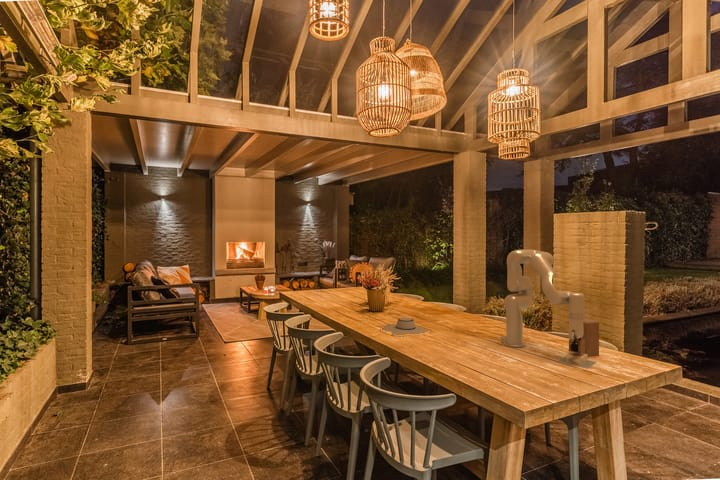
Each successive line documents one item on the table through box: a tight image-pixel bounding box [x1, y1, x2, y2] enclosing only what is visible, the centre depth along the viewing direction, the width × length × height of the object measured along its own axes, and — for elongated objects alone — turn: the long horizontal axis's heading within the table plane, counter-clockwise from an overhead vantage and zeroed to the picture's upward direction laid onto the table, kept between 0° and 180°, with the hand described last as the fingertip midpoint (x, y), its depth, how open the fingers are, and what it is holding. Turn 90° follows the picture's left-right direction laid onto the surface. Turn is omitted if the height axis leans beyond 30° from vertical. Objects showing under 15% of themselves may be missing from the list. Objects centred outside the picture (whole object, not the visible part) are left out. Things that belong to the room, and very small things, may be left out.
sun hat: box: [381, 317, 428, 335], centre depth 288 cm, size 36×36×9 cm
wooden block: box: [574, 317, 600, 358], centre depth 225 cm, size 10×10×20 cm
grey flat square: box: [557, 356, 597, 370], centre depth 210 cm, size 15×15×1 cm
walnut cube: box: [568, 338, 585, 353], centre depth 210 cm, size 6×6×6 cm
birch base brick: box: [565, 351, 589, 365], centre depth 210 cm, size 8×8×4 cm
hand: (576, 349), depth 210 cm, fingers closed on walnut cube, 6 cm apart
